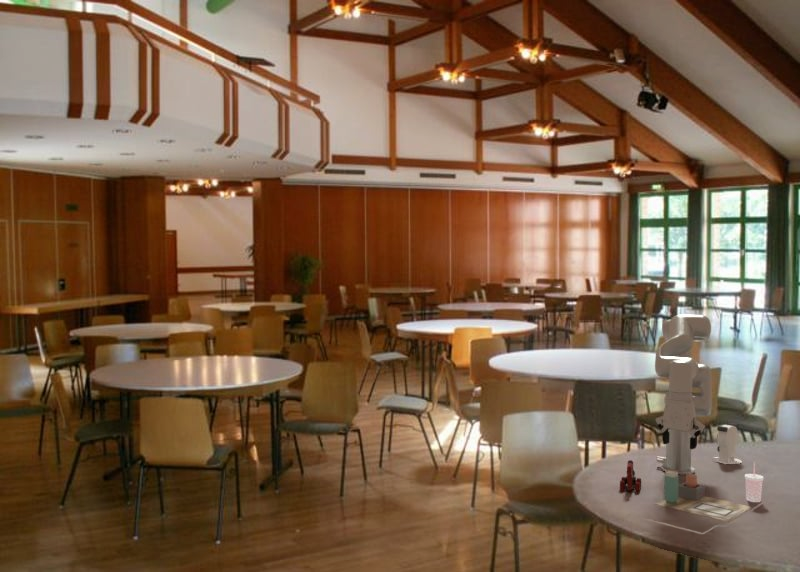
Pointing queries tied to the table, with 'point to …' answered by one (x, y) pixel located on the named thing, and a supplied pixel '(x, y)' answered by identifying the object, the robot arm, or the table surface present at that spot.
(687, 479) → the button
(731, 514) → the board
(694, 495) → the button housing
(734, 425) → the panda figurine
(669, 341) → the robot arm
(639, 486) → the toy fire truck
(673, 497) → the green and white block
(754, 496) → the beverage cup
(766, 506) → the table surface
